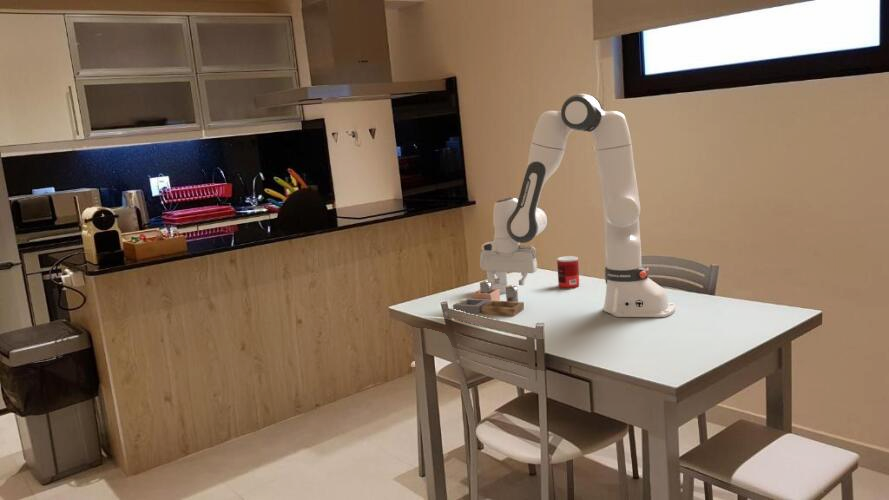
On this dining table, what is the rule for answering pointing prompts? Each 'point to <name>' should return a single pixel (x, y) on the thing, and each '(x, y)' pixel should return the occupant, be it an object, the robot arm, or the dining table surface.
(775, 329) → the dining table surface
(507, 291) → the cell
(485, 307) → the trough
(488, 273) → the supplement box
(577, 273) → the canned food
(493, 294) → the pink square tray
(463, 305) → the grey square tray
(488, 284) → the cell
